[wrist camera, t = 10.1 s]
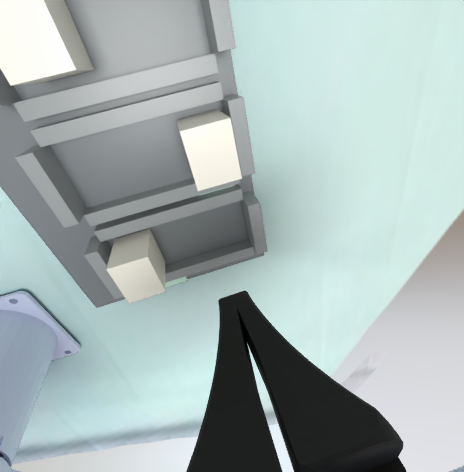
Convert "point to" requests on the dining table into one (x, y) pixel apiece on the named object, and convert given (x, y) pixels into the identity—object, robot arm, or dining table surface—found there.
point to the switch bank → (132, 144)
